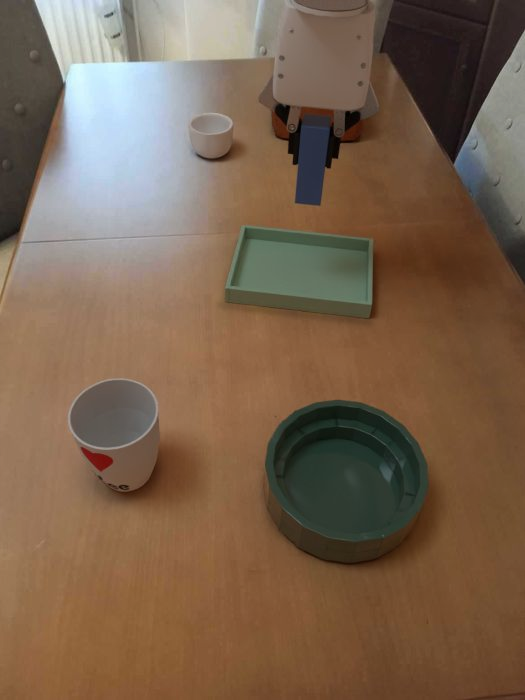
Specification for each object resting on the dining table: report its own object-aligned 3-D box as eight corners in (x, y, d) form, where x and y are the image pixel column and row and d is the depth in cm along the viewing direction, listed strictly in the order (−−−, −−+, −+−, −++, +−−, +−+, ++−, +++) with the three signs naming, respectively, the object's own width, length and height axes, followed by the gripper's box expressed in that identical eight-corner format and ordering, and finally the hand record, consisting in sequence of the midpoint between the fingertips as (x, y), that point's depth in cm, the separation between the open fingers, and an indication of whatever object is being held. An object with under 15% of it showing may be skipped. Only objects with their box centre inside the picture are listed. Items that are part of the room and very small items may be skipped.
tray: (370, 252, 88) (373, 238, 86) (369, 318, 79) (372, 304, 77) (241, 238, 89) (242, 224, 88) (225, 302, 80) (224, 288, 78)
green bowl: (413, 437, 66) (424, 410, 62) (420, 575, 55) (432, 552, 52) (273, 419, 67) (275, 391, 63) (253, 551, 57) (254, 527, 53)
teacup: (233, 164, 104) (233, 134, 100) (188, 163, 103) (186, 134, 99) (233, 135, 110) (233, 107, 106) (192, 135, 110) (190, 106, 106)
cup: (73, 464, 62) (52, 406, 55) (140, 424, 66) (128, 365, 59) (114, 520, 58) (96, 465, 51) (182, 475, 62) (175, 417, 55)
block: (322, 191, 76) (331, 115, 68) (320, 206, 73) (329, 129, 66) (297, 189, 76) (303, 113, 68) (294, 203, 74) (301, 126, 66)
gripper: (415, -18, 59) (381, 152, 73) (251, -32, 60) (248, 138, 74) (418, 8, 54) (381, 185, 68) (240, -7, 55) (238, 170, 69)
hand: (312, 159), depth 71 cm, fingers closed on block, 3 cm apart
